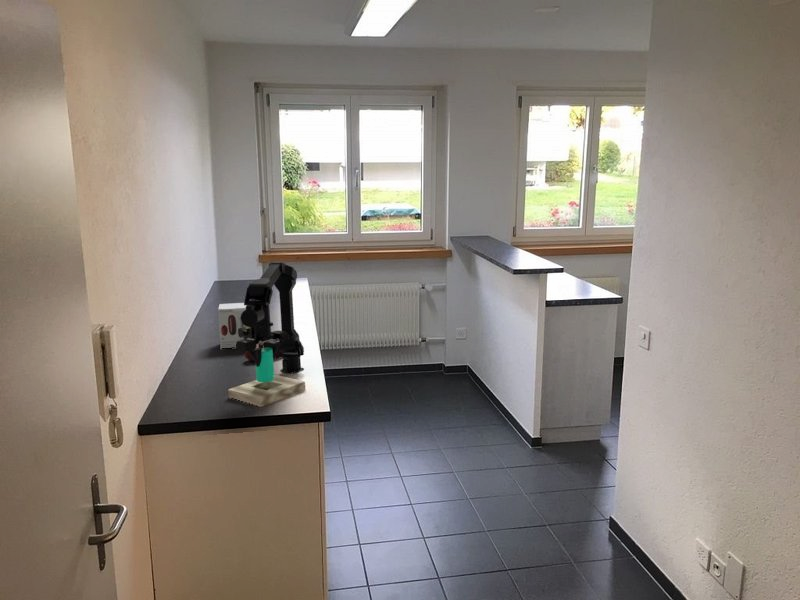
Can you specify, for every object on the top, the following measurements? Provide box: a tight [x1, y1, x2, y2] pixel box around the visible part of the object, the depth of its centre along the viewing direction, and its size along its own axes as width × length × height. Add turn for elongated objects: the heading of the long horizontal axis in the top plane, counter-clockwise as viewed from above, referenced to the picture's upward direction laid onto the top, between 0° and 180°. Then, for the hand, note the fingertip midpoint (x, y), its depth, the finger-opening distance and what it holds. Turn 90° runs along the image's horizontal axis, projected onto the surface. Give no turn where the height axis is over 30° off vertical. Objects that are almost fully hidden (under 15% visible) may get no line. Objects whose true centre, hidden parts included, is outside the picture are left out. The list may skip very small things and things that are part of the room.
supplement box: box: [217, 302, 260, 350], centre depth 287 cm, size 17×13×18 cm
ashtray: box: [244, 343, 283, 362], centre depth 268 cm, size 18×16×5 cm
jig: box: [227, 374, 306, 408], centre depth 221 cm, size 20×16×3 cm
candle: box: [255, 347, 275, 382], centre depth 219 cm, size 6×6×12 cm
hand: (264, 365), depth 219 cm, fingers closed on candle, 5 cm apart
